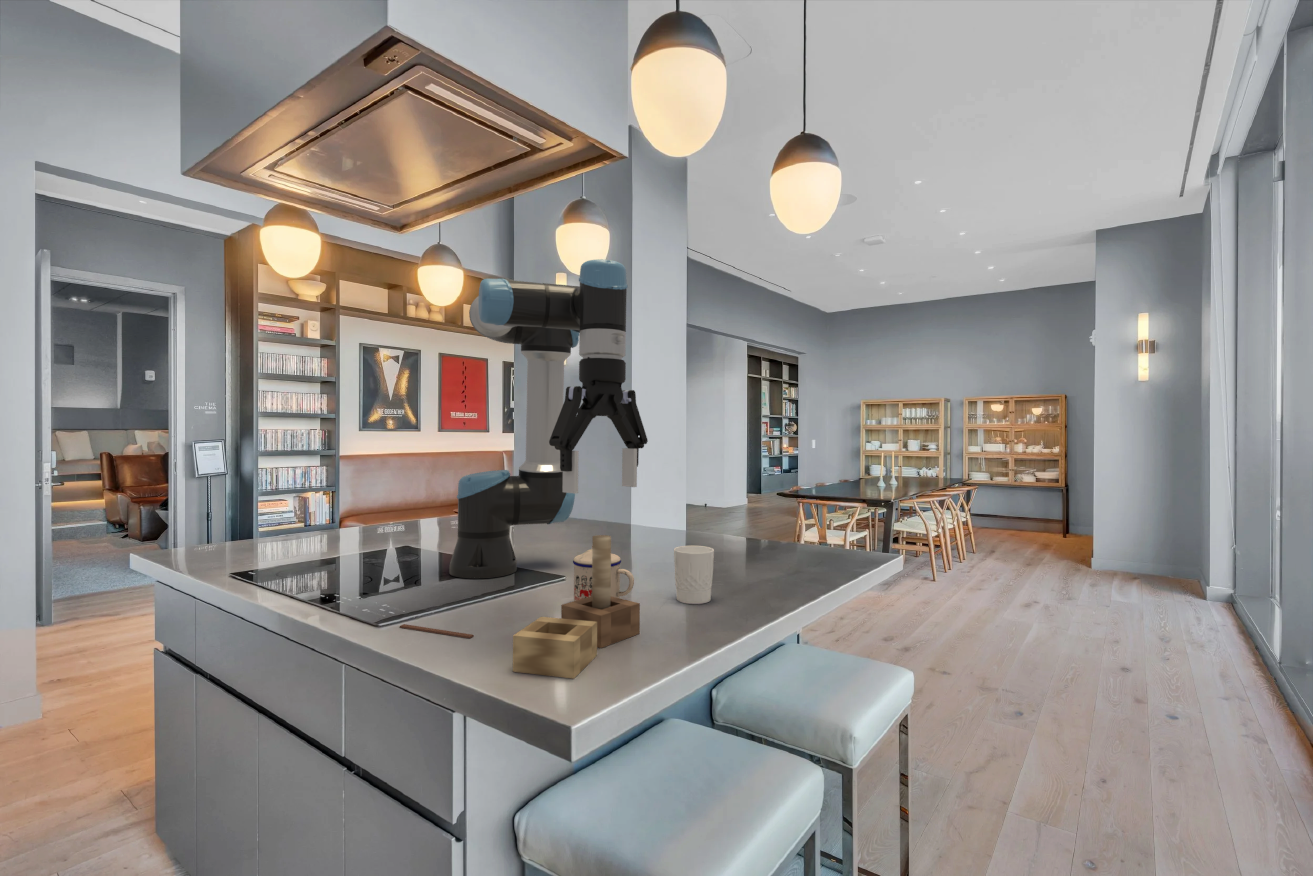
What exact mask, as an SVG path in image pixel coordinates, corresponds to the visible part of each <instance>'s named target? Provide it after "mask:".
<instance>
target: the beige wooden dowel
mask: <svg viewBox="0 0 1313 876" xmlns="http://www.w3.org/2000/svg"><path fill="white" fill-rule="evenodd" d="M591 538H592V541H591V542H592V545H591V549H592V608H596V609H600V610H602V609H605V608H608V607H611V553H612V536H611V535H607V534H597V535H596V534H595V535H593V536H592V537H591Z"/></svg>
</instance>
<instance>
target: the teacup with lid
mask: <svg viewBox="0 0 1313 876" xmlns="http://www.w3.org/2000/svg"><path fill="white" fill-rule="evenodd" d="M621 563H622V560H621V557H620V556H619V555H617V554H615V553H612V552H611V596H612V597H616V598H620V597H623V596H627V595H629V594H630V593H631V592H632V590H633V588H634V586H635V577H634V575H633V572H631V571H629V570H627V569H625V568H621ZM572 564H573V567H574V568H573V579H574V580H573V601H577V600H580V599H584V598H587V597H591V596H592V548H591V549H588V550H585V552H583V553H581V554H578V555H576V556H574V558H573V559H572ZM621 574H623V575H625V576H627V578H628V587H627V589H626V590H625V591H620V588H621V587H620V581H621V579H620V578H621V577H620V576H621ZM620 599H621V598H620Z"/></svg>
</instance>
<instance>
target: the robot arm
mask: <svg viewBox="0 0 1313 876" xmlns="http://www.w3.org/2000/svg"><path fill="white" fill-rule="evenodd" d="M578 282H579V286H577V285H567V284H557V283H556V284H555V283H547V282H546V283H544V282H542V283H541V282H534V281H533V282H531V281H523V280H513V279H505V278H499V277H498V278H484V279H482V280H481V282H480V284H479V289H478V296H476V298H474V299H473V300H472V303H471V304H470V307H469V311H468V312H469V316H468V317H469V320H470V323H471V326H472V327H473V329H474V330H475V331H476V332H477V333H479V334H480V335H481V336H484V337H485V338H487V339H489V340H492V341H496V342H497V343H498V342H499V343H504V344H512V345H520V354H522V355H523V356H524V358H525V359H526V362H527V365H526V366H527V367H526V369H527V371H526V374H527V375H526V376H527V377H526V413H525V414H526V416H525V417H526V420H525V421H526V424H525V461H524V462H522V464H521V465H520V466H519V467H518V475H511V472H510V471H509V469H500V470H499V469H498V470H497V469H496V470H488V471H482V472H481V471H479V472H475V473H470V474H466V475H464V476H462V477H461V478H459V481H458V483H457V484H458V485H457V486H458V487H457V495H456V498H457V540H456V544H455V546H454V549H453V553H452V555H451V558H450V561H449V574H450V575H451V576H452V577H455V578H461V579H491V578H499V577H505V576H508V575H511V574H514V573H516V572H517V570H518V568H517V567H518V564H517V563H518V562H517V561H518V560H517V558H516V555H515V551H514V548H513V544H512V542H511V538H510V526H519V525H523V526H524V525H544V524H545V525H546V524H547V525H551V524H559V523H564V522H566V521H567V520H568V519H569V517H571V514H572V512H573V509H574V504H575V498H576V494H578V493H579V450H575V449H576V446H577V444H578V443H579V441H580V440H581V438H582V436H583V435H584V434H585V432H586V430H587V429H588V426H590V423H592V420H593V419H595V418H596V417H607V418H608V419H610V420H611V422H612V425H614V427H615V429H616V431H617V432H618V434H619V436H620V438H621V440H622V441H623V443H624V445H625V446H626V447H623V448H621V449H622V450H621V451H622V453H621V454H622V455H621V456H622V459H621V464H622V467H621V487H629V488H637V484H638V480H637V479H638V467H639V459H640V458H639V455H640V454H639V453H640V452H639V451H640V450H639V449H644V447H645V445H647V444H648V441H649V440H648V436H647V433H646V431H645V428H644V427H645V426H644V424H643V421H642V418H641V415H640V411H639V408H638V404H637V395H636V391H635V390H633V389H626V390H623V389H622V384H623V383H625V382H626V378H627V377H626V370H627V368H626V366H627V363H626V362H625V360H624V359H623V358H625V356H626V345H627V344H626V342H627V341H626V340H627V339H626V334H627V333H626V332H627V292H628V291H627V289H628V288H629V287H628V284H627V269H626V267H625V265H624V264H623V263H621V262H618V261H616V260H611V259H602V258H601V259H590V260H586V261H585V262H583V263H582V264H581V265H580V271H579V277H578ZM578 345H579V347H578V349H579V350H578V351H579V352H578V354H579V357H582V359H580V361H578V363H579V364H578V365H579V366H578V380H579V382H581V383H582V386H580V385H575V386H574V385H573V386H566V388H565V387H564V384H565V383H564V382H565V380H564V379H565V361H566V360H567V359H568V358H569V357H570V356H571V354H572V353H571V352H572V349H574V348H576V347H577V346H578ZM564 388H565V395H564Z"/></svg>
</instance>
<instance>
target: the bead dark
mask: <svg viewBox="0 0 1313 876" xmlns="http://www.w3.org/2000/svg"><path fill="white" fill-rule="evenodd" d="M640 604H641V603H640V602H636V601H632V600H628V599H624V598H616V597H612V596H611V607H608V608H605V609H602V610H600V609H596V608H592V596H591V597H587V598H584V599H580V600H577V601H574V600H573V601H570V602H566V603H562V604H561V609H560V610H561V611H560V613H561V614H560V615H561V618H562V619H573V620H584V621H595V622H597V648H599V649H603V648H605V647H608V646H611V645H613V644H615V643H619V642H621V641H624V640H627V639H629V638H631V637H634V636H636V635H639V634H640V627H641V626H640V625H641V624H640V623H641V621H640V620H641V618H640V615H641V613H640V612H641V611H640V610H641V605H640Z"/></svg>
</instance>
